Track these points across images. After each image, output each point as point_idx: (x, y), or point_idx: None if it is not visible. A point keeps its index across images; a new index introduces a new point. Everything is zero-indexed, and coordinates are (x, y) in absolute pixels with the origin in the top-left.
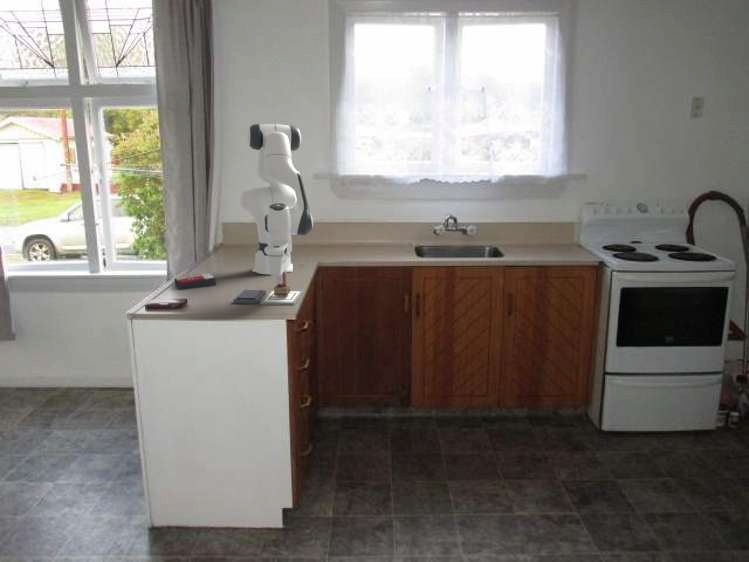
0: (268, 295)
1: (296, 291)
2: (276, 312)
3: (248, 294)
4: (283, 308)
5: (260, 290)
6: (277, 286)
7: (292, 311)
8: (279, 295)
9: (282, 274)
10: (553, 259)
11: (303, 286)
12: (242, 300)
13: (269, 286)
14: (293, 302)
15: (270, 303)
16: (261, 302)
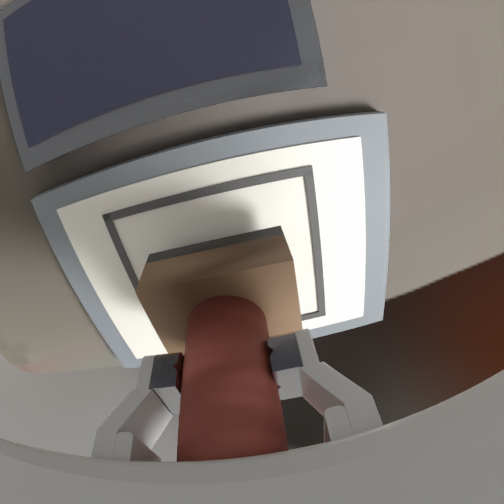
0: (222, 152)
1: (369, 295)
2: (6, 326)
3: (103, 23)
4: (56, 335)
5: (280, 50)
6: (205, 295)
7: (52, 371)
8: None
9: (161, 461)
10: None
11: (491, 256)
12: (2, 71)
13: (500, 63)
14: (127, 363)
15: (61, 259)
16: (34, 207)
